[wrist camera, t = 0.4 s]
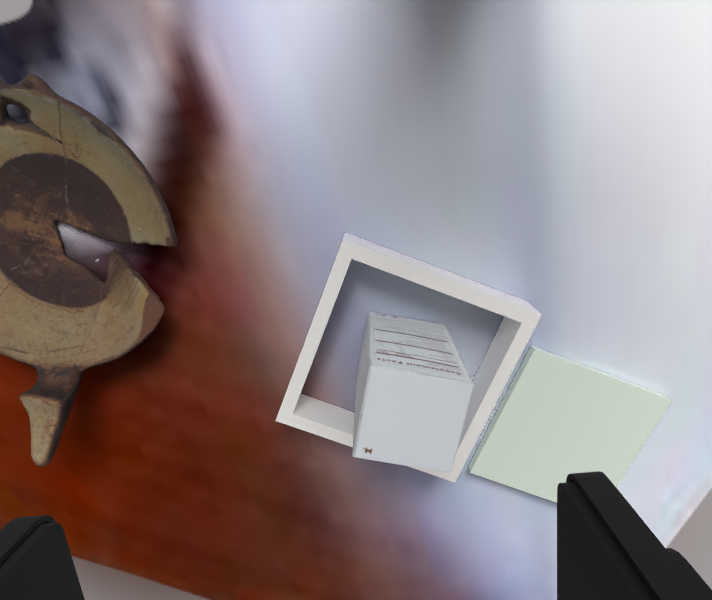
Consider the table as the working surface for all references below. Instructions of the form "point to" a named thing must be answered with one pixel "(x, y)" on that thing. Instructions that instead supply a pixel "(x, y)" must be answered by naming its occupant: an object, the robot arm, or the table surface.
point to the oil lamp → (50, 263)
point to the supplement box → (409, 394)
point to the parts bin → (515, 310)
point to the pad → (565, 425)
